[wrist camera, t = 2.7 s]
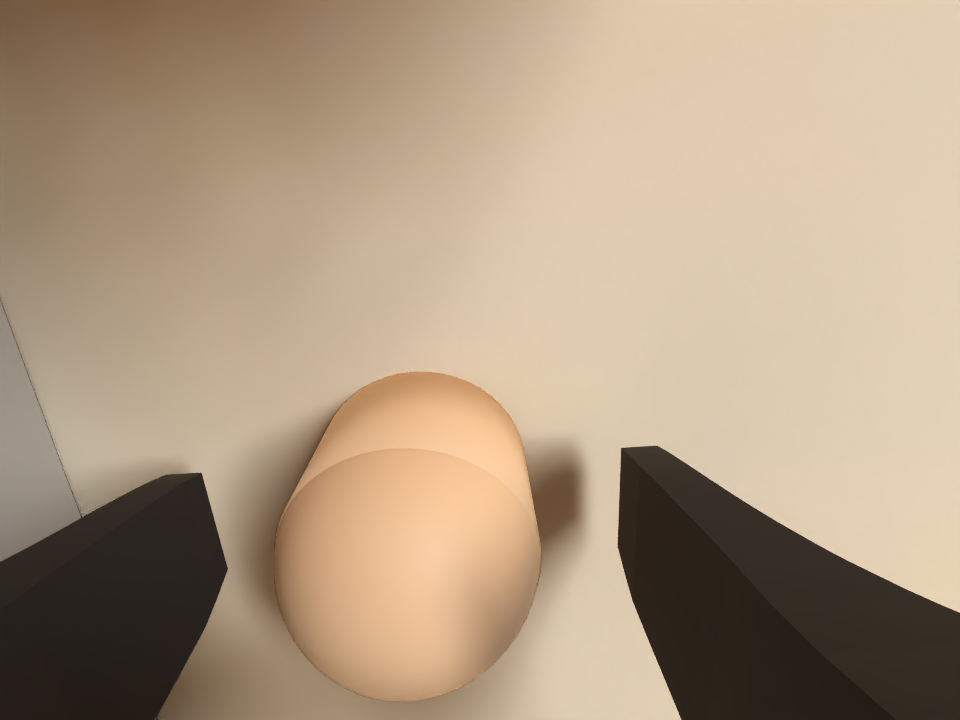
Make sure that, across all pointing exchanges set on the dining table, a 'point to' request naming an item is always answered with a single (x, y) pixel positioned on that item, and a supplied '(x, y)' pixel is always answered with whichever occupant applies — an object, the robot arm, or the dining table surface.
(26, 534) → the grey compartment tray
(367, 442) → the egg
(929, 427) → the dining table surface
